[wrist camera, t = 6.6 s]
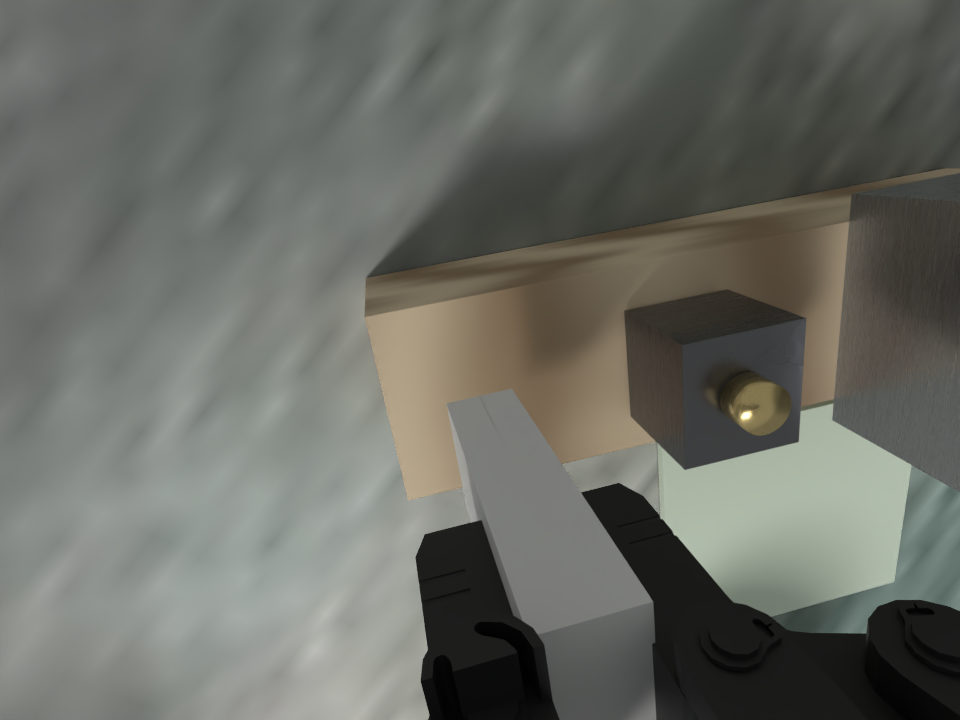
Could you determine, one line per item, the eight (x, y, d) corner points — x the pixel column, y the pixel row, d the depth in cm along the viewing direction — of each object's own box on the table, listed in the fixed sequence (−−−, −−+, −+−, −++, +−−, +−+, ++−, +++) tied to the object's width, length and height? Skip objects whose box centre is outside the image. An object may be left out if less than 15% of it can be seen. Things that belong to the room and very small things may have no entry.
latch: (630, 416, 16) (703, 488, 13) (624, 310, 15) (702, 357, 11) (726, 394, 16) (823, 458, 13) (727, 289, 15) (833, 328, 12)
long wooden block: (399, 423, 21) (408, 500, 16) (366, 277, 19) (364, 317, 14) (925, 307, 23) (1064, 344, 19) (945, 168, 21) (1106, 170, 17)
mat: (665, 639, 27) (669, 645, 26) (657, 439, 23) (662, 444, 23) (887, 576, 28) (893, 581, 28) (915, 378, 24) (923, 381, 24)
